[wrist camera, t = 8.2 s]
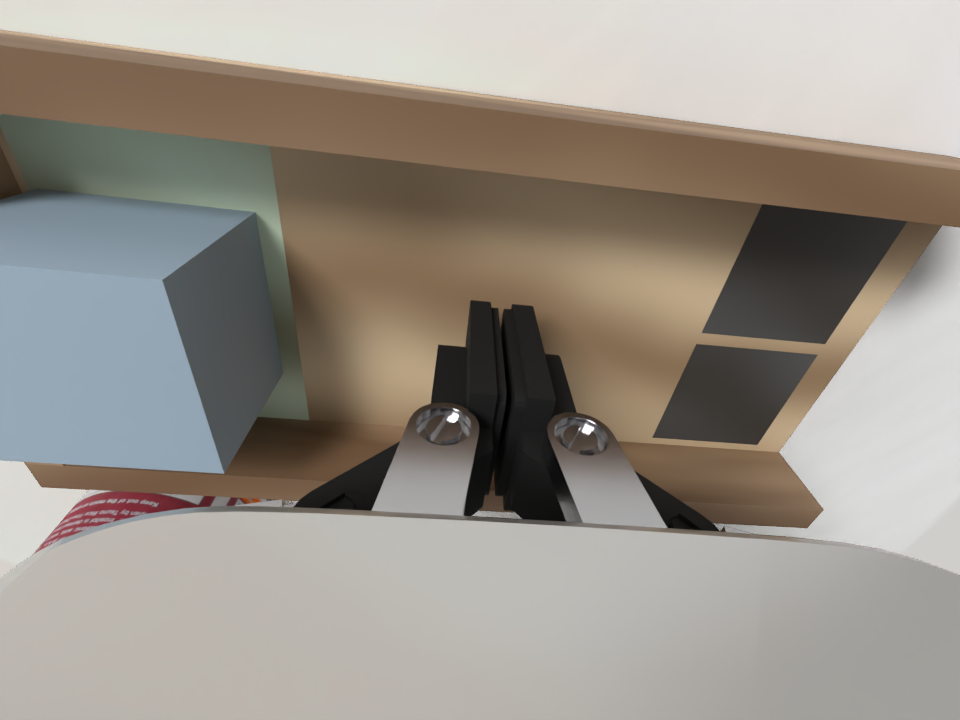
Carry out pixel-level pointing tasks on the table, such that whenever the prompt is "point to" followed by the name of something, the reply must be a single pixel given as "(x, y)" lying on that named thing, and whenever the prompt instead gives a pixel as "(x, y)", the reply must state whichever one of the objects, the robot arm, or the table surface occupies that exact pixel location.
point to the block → (131, 332)
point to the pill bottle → (129, 509)
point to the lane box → (494, 255)
